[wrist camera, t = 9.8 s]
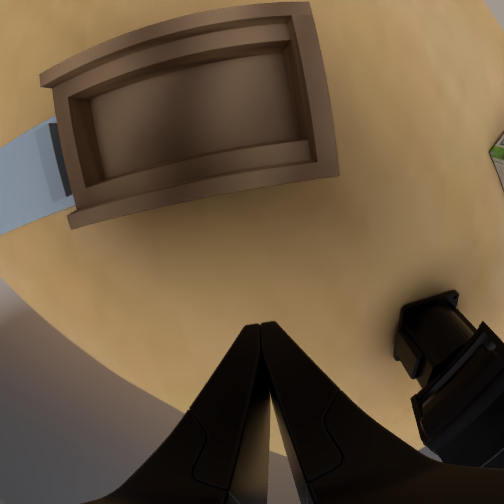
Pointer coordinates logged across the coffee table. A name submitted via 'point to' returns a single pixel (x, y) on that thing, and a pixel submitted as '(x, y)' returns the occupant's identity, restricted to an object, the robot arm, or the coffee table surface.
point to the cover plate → (33, 177)
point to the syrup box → (499, 158)
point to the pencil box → (194, 110)
